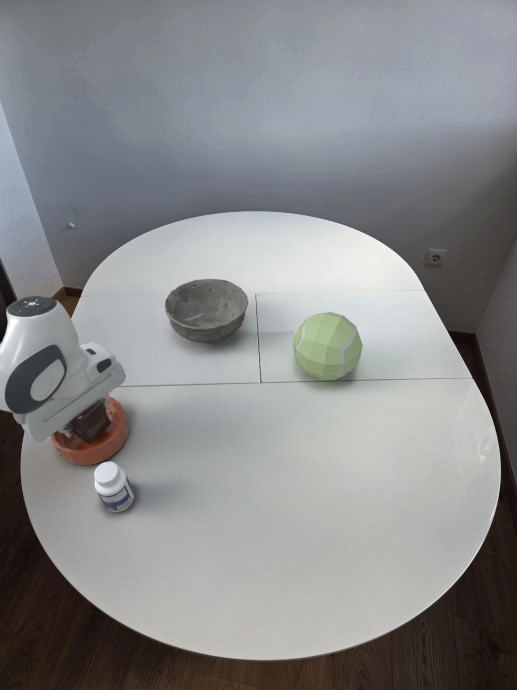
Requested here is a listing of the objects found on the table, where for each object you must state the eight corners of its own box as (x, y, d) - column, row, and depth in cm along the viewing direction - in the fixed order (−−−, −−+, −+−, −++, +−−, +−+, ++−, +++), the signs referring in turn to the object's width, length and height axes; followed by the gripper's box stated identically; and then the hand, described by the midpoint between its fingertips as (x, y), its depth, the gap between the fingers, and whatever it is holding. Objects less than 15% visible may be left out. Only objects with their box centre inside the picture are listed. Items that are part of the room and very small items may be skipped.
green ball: (282, 379, 100) (284, 331, 90) (306, 340, 110) (310, 293, 100) (344, 401, 96) (353, 353, 85) (363, 358, 105) (373, 310, 95)
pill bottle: (109, 485, 82) (95, 457, 75) (137, 485, 81) (126, 457, 75) (100, 512, 78) (85, 485, 71) (130, 513, 78) (117, 486, 71)
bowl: (262, 319, 116) (262, 289, 110) (223, 369, 103) (221, 338, 96) (198, 298, 123) (194, 269, 117) (154, 342, 110) (146, 312, 103)
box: (112, 424, 88) (102, 401, 83) (90, 446, 85) (78, 423, 80) (91, 412, 91) (80, 389, 86) (68, 433, 87) (56, 410, 82)
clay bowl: (85, 480, 82) (77, 466, 79) (45, 441, 89) (36, 426, 86) (143, 431, 90) (138, 417, 87) (102, 399, 97) (96, 384, 94)
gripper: (19, 420, 69) (49, 466, 79) (121, 350, 81) (137, 398, 90) (-1, 401, 72) (30, 447, 82) (101, 336, 84) (118, 384, 93)
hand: (87, 421), depth 86 cm, fingers closed on box, 6 cm apart
